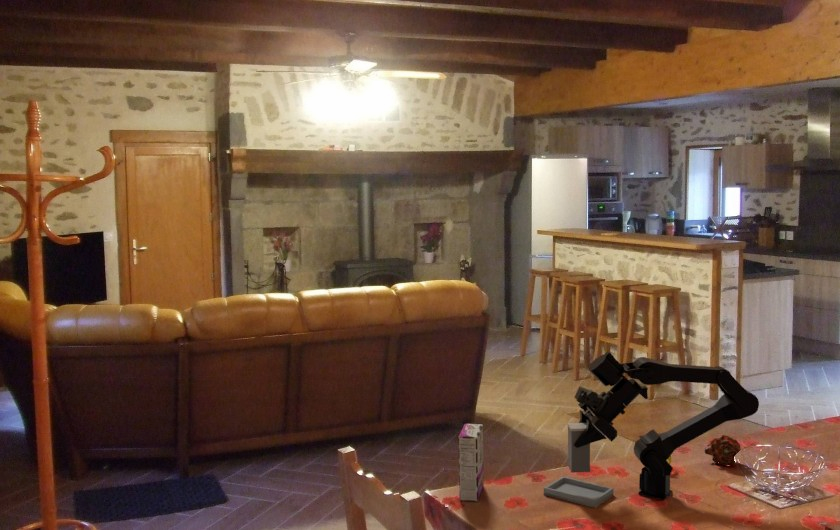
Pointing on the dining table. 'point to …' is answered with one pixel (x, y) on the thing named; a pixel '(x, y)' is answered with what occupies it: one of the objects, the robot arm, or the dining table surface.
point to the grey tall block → (577, 449)
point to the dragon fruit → (723, 450)
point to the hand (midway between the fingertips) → (573, 443)
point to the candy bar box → (471, 462)
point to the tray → (578, 491)
